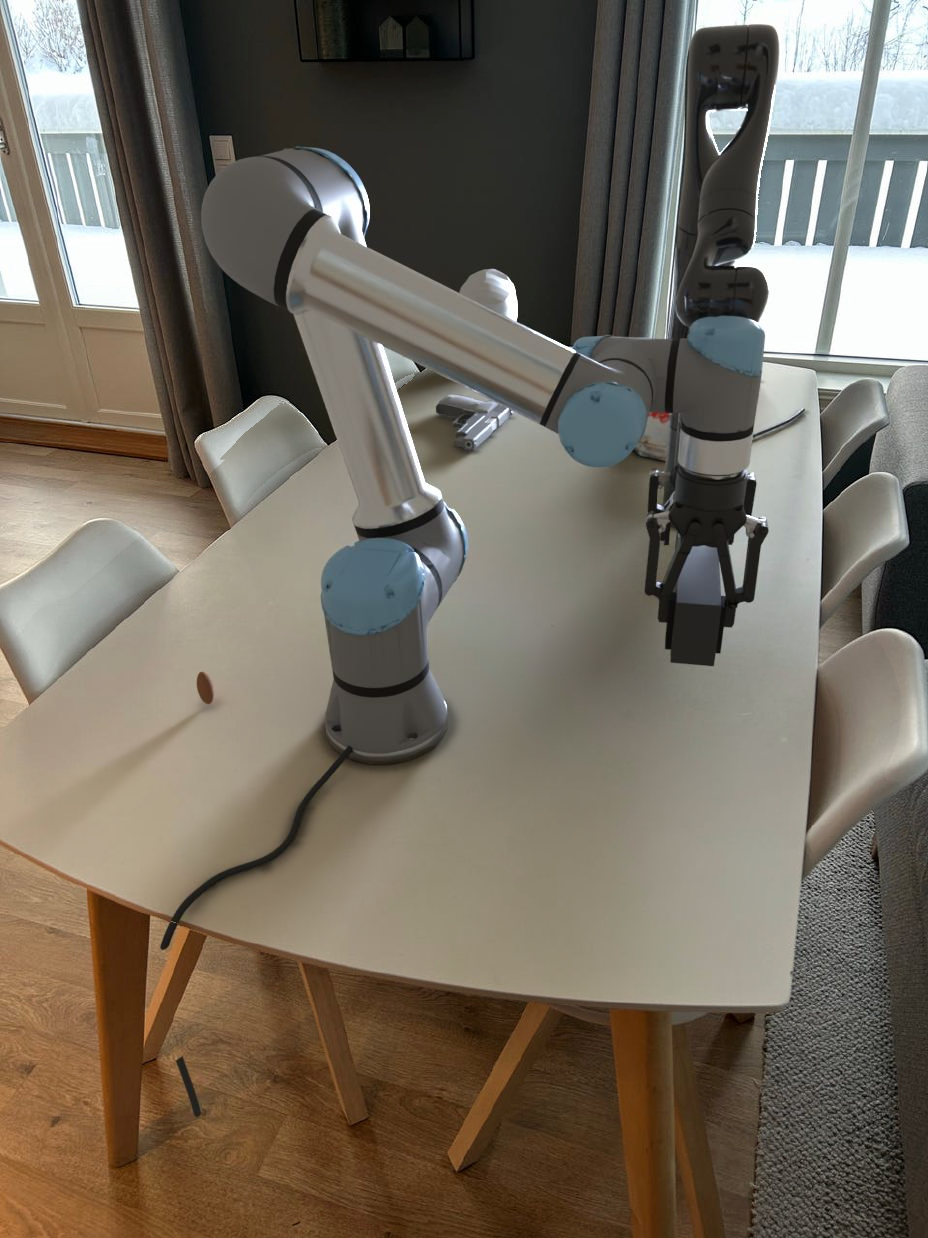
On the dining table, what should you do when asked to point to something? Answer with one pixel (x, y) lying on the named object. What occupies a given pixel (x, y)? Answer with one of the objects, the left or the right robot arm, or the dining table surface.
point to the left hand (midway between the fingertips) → (692, 645)
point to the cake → (654, 437)
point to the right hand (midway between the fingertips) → (695, 544)
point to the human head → (492, 292)
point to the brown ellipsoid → (205, 687)
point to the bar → (697, 608)
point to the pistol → (472, 418)
